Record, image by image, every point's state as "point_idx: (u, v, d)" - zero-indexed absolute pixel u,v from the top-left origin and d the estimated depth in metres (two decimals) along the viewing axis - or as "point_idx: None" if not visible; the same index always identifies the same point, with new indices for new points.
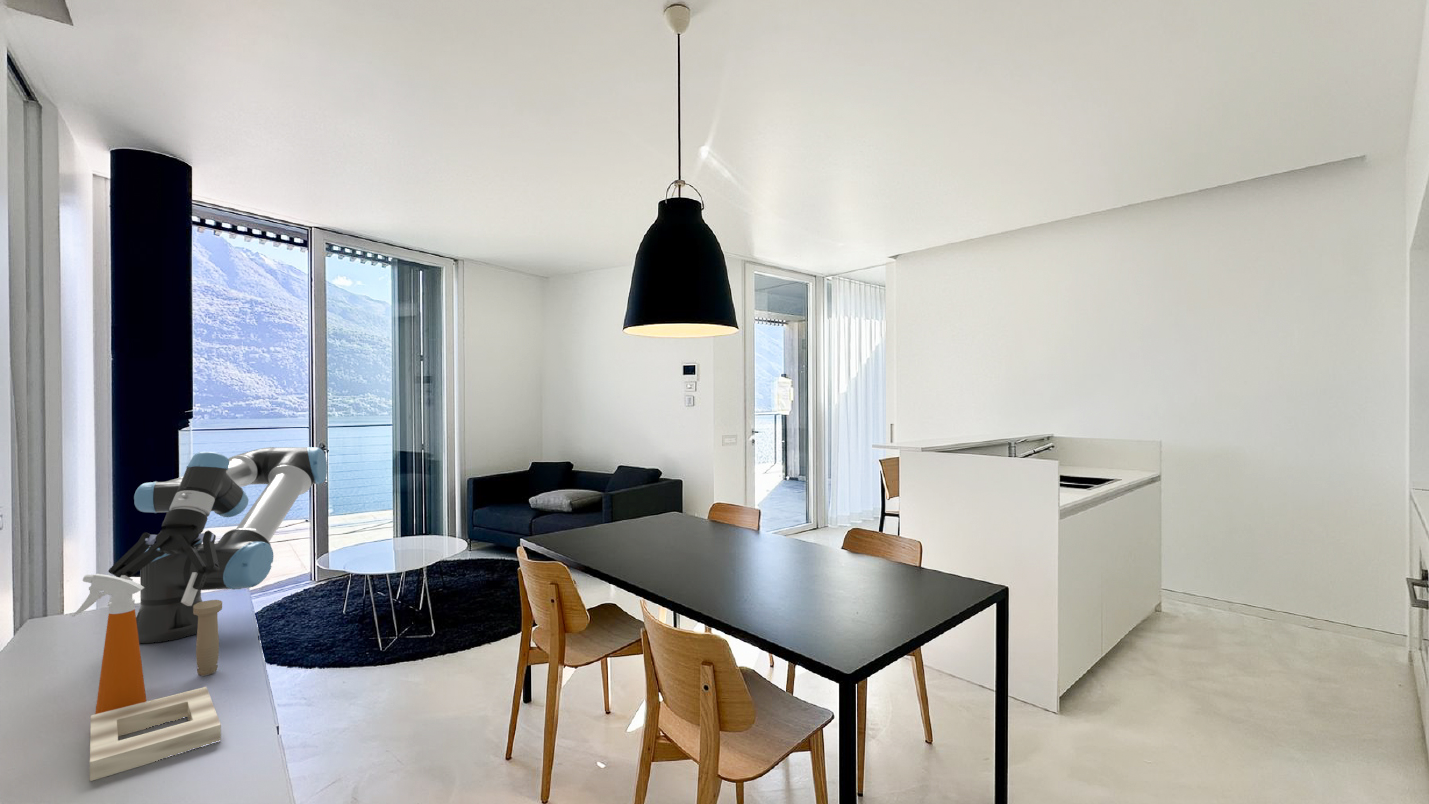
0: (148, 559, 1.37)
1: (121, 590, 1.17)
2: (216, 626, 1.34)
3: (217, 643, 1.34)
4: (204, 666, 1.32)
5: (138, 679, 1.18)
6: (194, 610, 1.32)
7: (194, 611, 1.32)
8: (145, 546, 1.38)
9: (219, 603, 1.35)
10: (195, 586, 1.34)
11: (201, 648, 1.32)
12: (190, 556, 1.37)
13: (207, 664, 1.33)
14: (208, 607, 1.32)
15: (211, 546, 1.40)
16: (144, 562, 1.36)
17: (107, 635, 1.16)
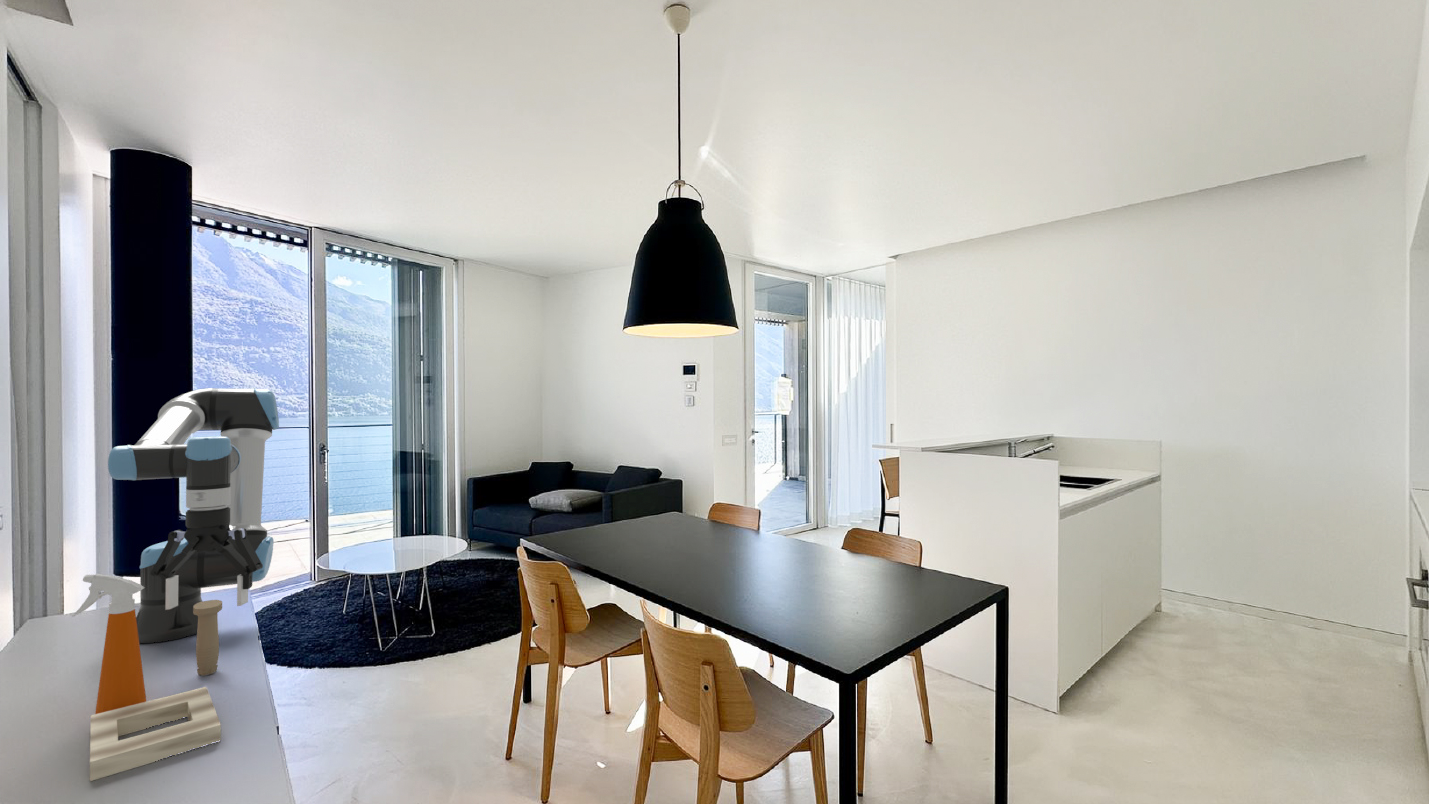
0: (186, 558, 1.33)
1: (121, 590, 1.17)
2: (216, 626, 1.34)
3: (217, 643, 1.34)
4: (204, 666, 1.32)
5: (138, 679, 1.18)
6: (194, 610, 1.32)
7: (194, 611, 1.32)
8: (177, 543, 1.33)
9: (219, 603, 1.35)
10: (245, 588, 1.35)
11: (201, 648, 1.32)
12: (228, 558, 1.34)
13: (207, 664, 1.33)
14: (208, 607, 1.32)
15: (246, 545, 1.35)
16: (183, 561, 1.33)
17: (107, 635, 1.16)
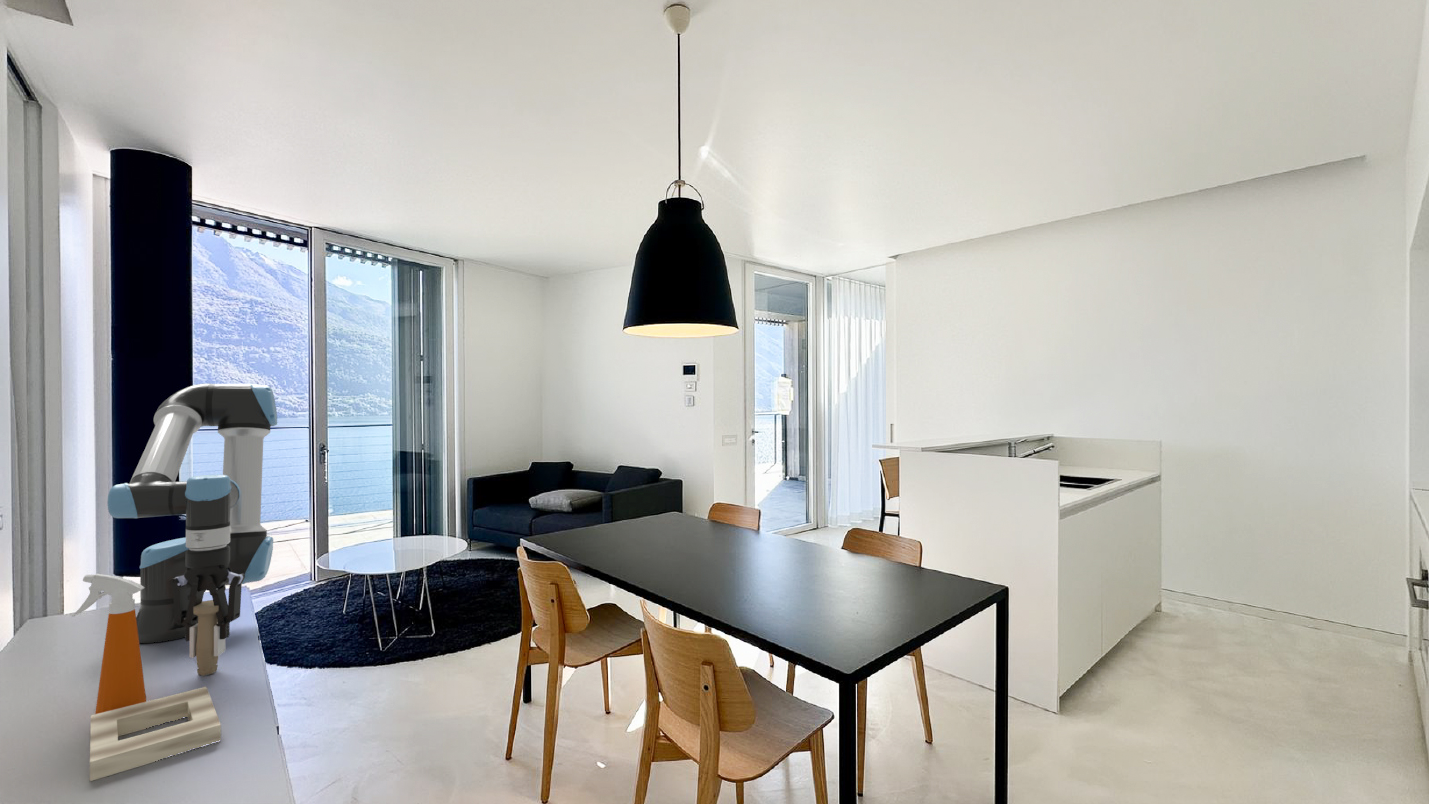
0: (199, 600, 1.34)
1: (121, 590, 1.17)
2: None
3: None
4: (204, 666, 1.32)
5: (138, 679, 1.18)
6: (194, 610, 1.32)
7: (194, 611, 1.32)
8: (183, 587, 1.33)
9: None
10: (222, 638, 1.34)
11: (201, 648, 1.32)
12: (215, 603, 1.33)
13: (207, 664, 1.33)
14: (208, 607, 1.32)
15: (236, 593, 1.35)
16: (198, 604, 1.34)
17: (107, 635, 1.16)
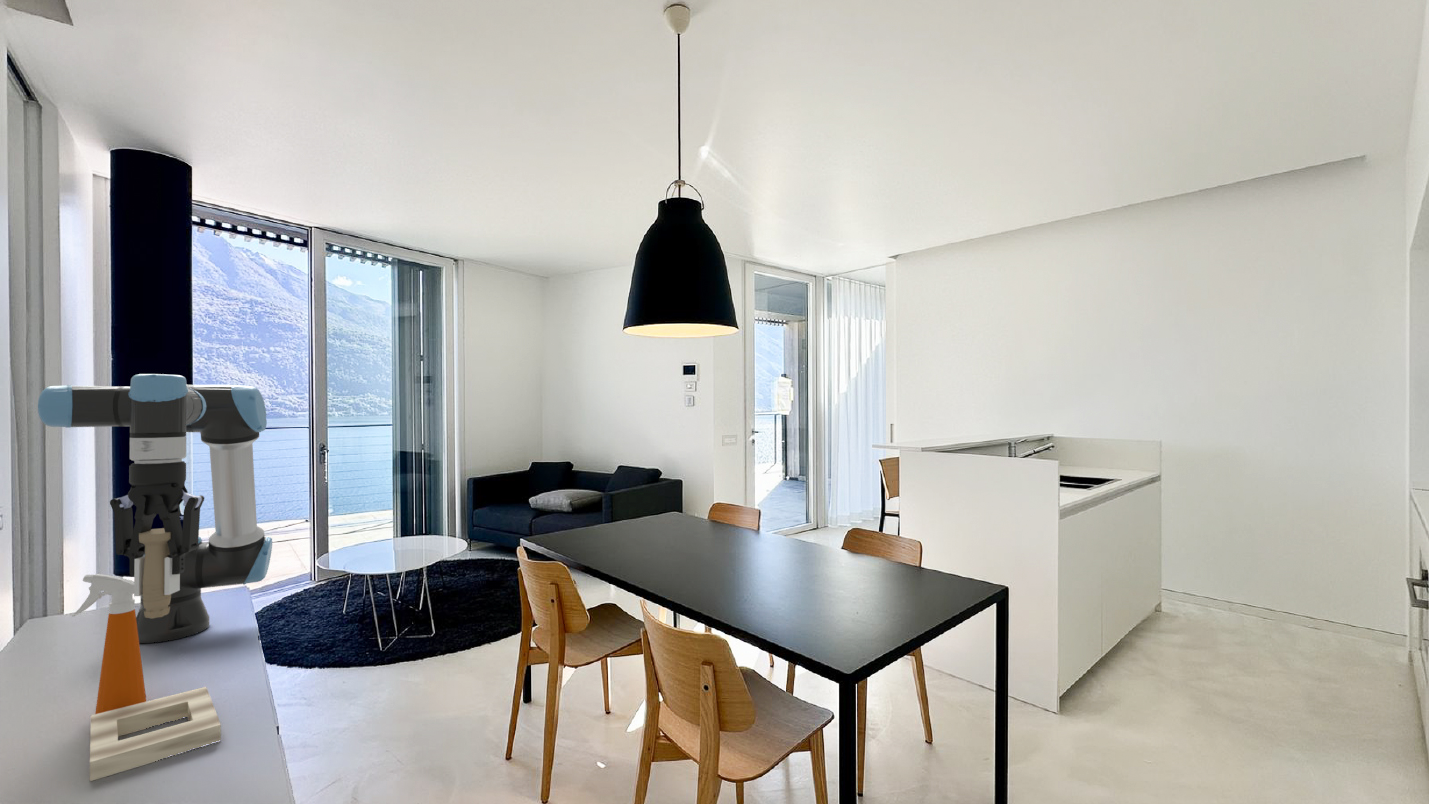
0: (146, 527, 1.09)
1: (121, 590, 1.17)
2: None
3: None
4: (152, 606, 1.08)
5: (138, 679, 1.18)
6: (139, 537, 1.07)
7: (140, 538, 1.07)
8: (127, 511, 1.09)
9: None
10: (175, 573, 1.09)
11: (149, 584, 1.07)
12: (166, 530, 1.09)
13: (155, 604, 1.08)
14: (157, 533, 1.07)
15: (193, 518, 1.10)
16: (145, 531, 1.09)
17: (107, 635, 1.16)
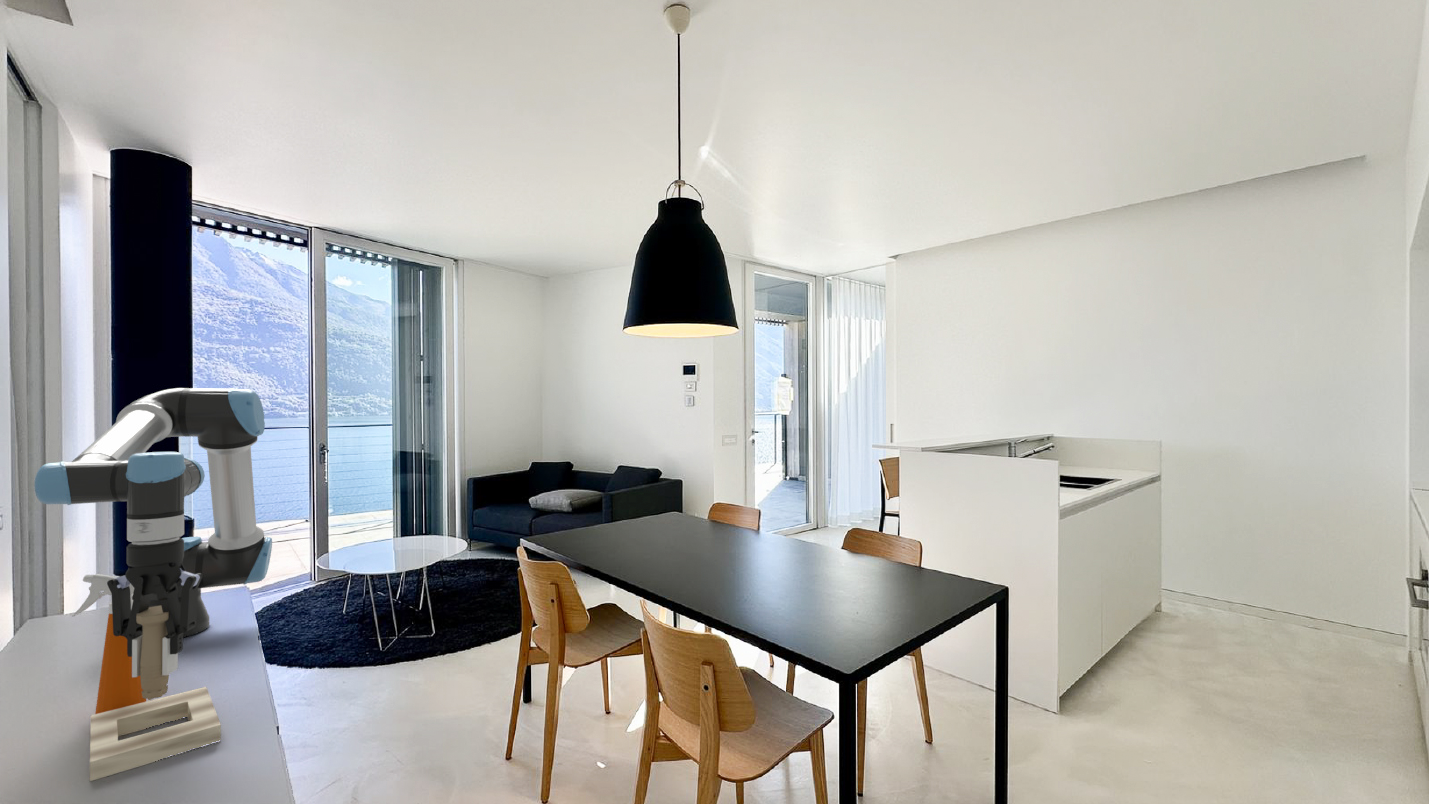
0: (144, 606, 1.08)
1: None
2: None
3: None
4: (150, 687, 1.07)
5: (138, 679, 1.18)
6: (137, 618, 1.06)
7: (137, 619, 1.06)
8: (125, 590, 1.08)
9: None
10: (173, 653, 1.09)
11: (146, 665, 1.07)
12: (164, 610, 1.08)
13: (153, 685, 1.07)
14: (155, 614, 1.07)
15: (191, 597, 1.09)
16: None
17: (107, 635, 1.16)
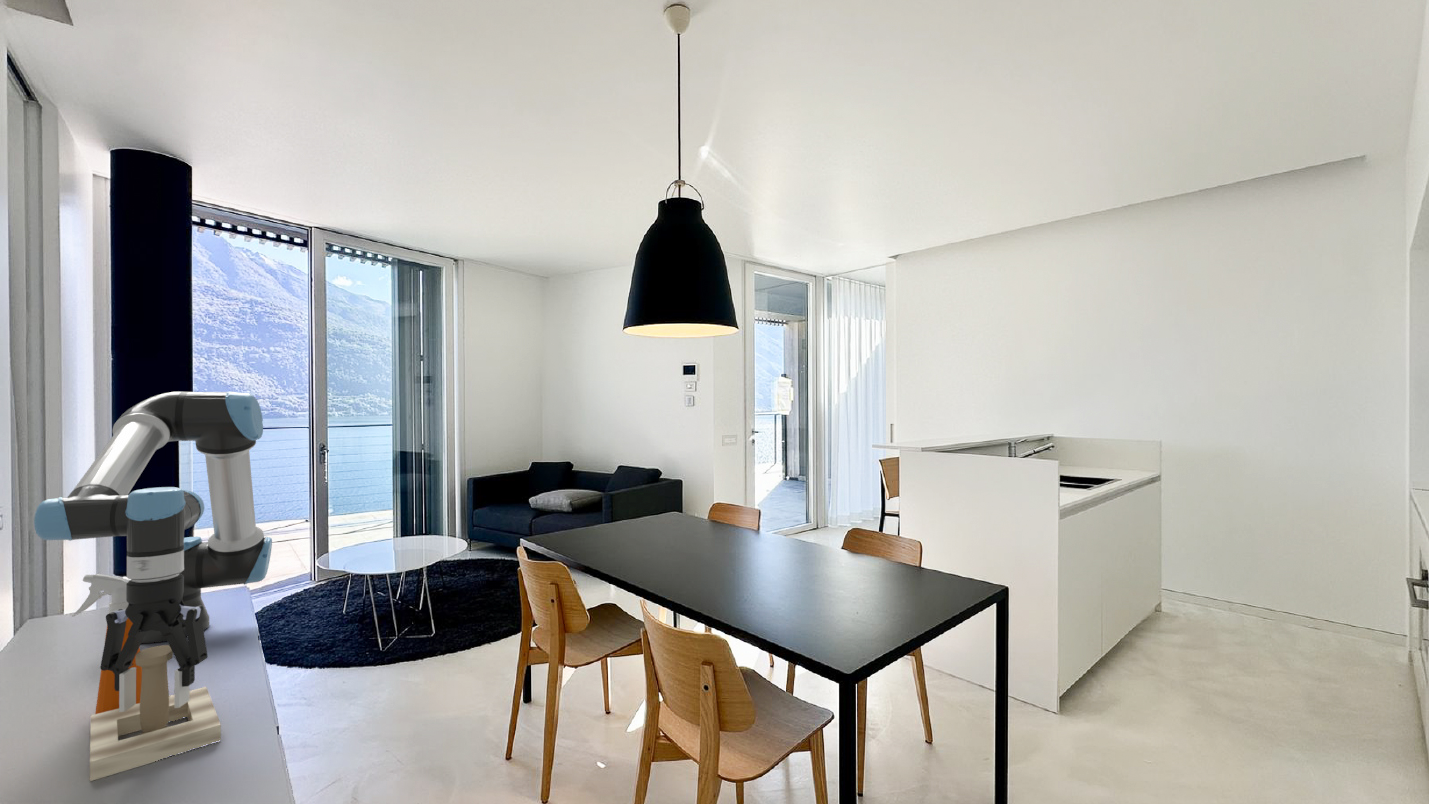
0: (137, 642, 1.08)
1: (121, 590, 1.17)
2: (165, 679, 1.09)
3: (166, 700, 1.09)
4: (150, 729, 1.07)
5: (138, 679, 1.18)
6: (136, 661, 1.06)
7: (136, 662, 1.06)
8: (121, 625, 1.08)
9: (169, 650, 1.09)
10: (185, 685, 1.09)
11: (146, 707, 1.07)
12: (171, 644, 1.08)
13: (153, 726, 1.07)
14: (154, 656, 1.07)
15: (196, 629, 1.09)
16: (135, 646, 1.08)
17: None
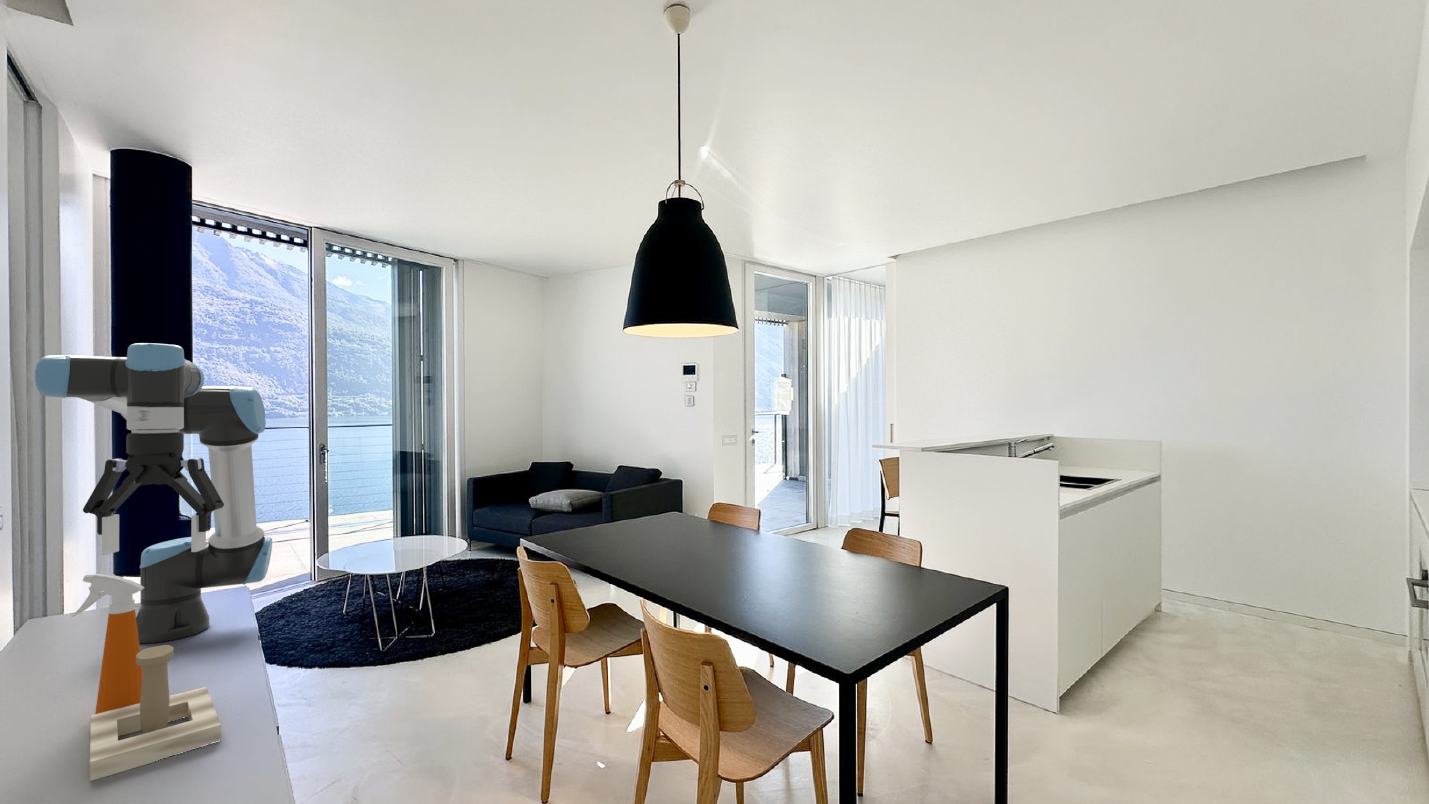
0: (128, 492, 1.08)
1: (121, 590, 1.17)
2: (165, 679, 1.09)
3: (167, 700, 1.09)
4: (150, 729, 1.07)
5: (138, 679, 1.18)
6: (136, 660, 1.06)
7: (137, 661, 1.06)
8: (117, 474, 1.08)
9: (169, 650, 1.09)
10: (202, 530, 1.10)
11: (146, 707, 1.07)
12: (181, 493, 1.09)
13: (153, 726, 1.07)
14: (154, 656, 1.07)
15: (203, 478, 1.10)
16: (124, 496, 1.08)
17: (107, 635, 1.16)
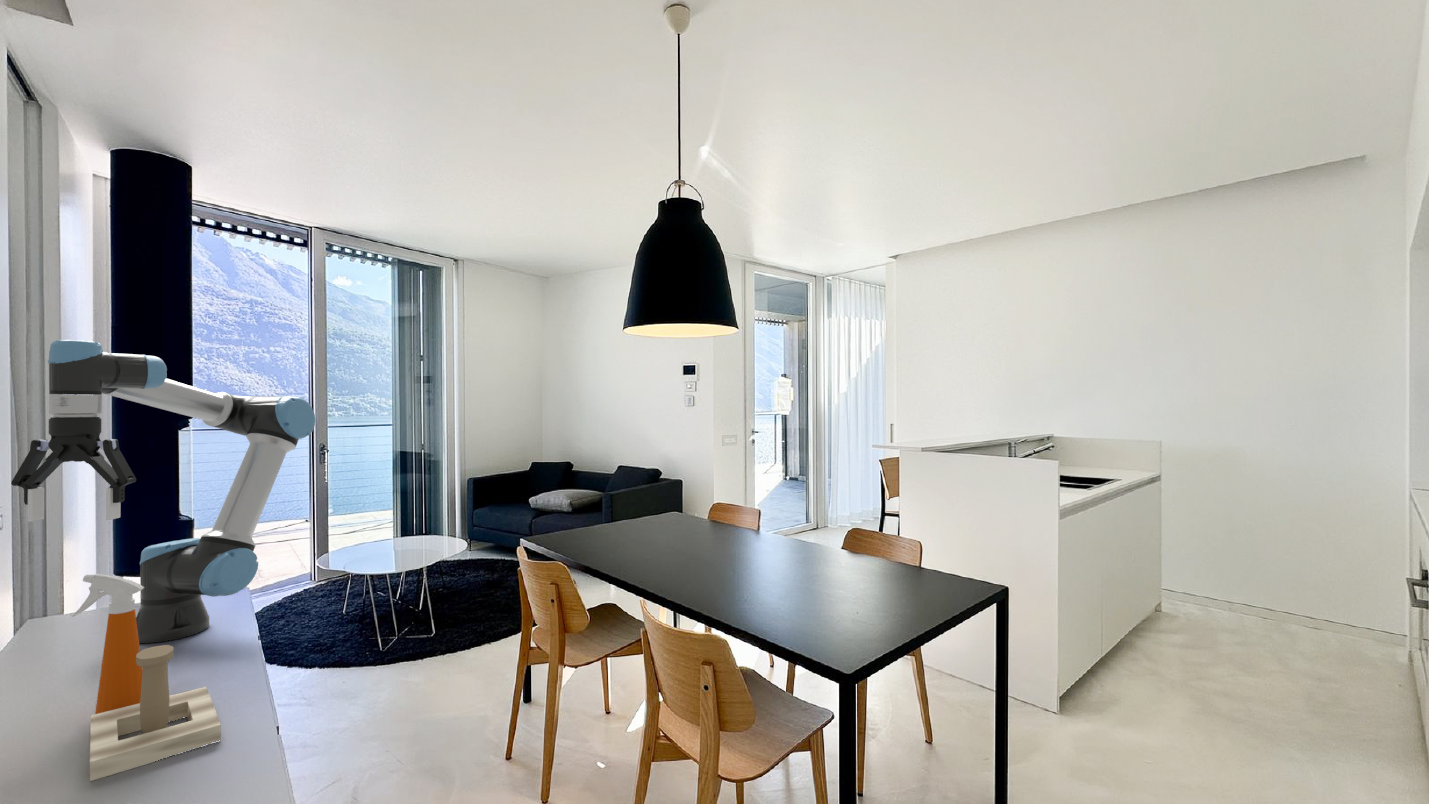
0: (51, 468, 1.26)
1: (121, 590, 1.17)
2: (165, 679, 1.09)
3: (167, 700, 1.09)
4: (150, 729, 1.07)
5: (138, 679, 1.18)
6: (136, 660, 1.06)
7: (137, 661, 1.06)
8: (41, 453, 1.25)
9: (169, 650, 1.09)
10: (115, 501, 1.27)
11: (146, 707, 1.07)
12: (97, 469, 1.26)
13: (153, 726, 1.07)
14: (155, 656, 1.07)
15: (116, 456, 1.27)
16: (48, 472, 1.26)
17: (107, 635, 1.16)
